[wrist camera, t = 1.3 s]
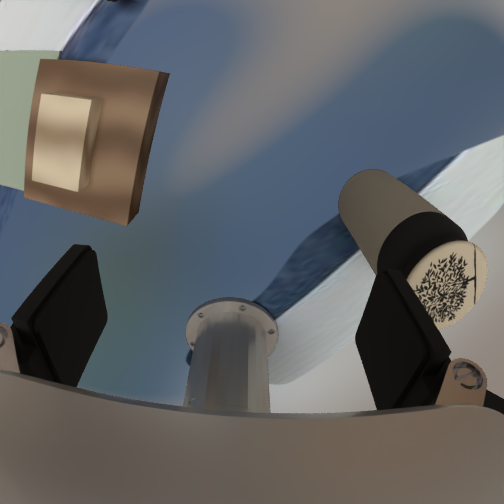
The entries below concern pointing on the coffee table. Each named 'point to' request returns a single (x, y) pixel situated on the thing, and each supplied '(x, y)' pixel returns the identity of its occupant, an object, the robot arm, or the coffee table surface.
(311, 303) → the coffee table surface
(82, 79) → the walnut board
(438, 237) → the beige canister
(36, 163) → the maple tile
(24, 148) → the rubber mat
